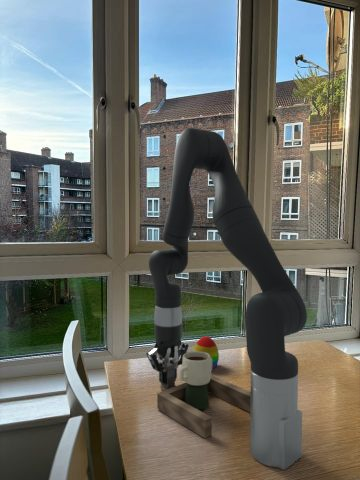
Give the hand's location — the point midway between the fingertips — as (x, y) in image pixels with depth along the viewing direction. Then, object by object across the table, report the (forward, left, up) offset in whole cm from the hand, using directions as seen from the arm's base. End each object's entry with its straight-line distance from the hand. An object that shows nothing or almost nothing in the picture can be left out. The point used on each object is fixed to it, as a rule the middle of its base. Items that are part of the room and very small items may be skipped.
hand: (168, 382), depth 107 cm
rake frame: (-12, 0, -2) cm, 12 cm away
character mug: (-12, 0, -2) cm, 12 cm away
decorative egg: (+4, -19, -2) cm, 20 cm away
